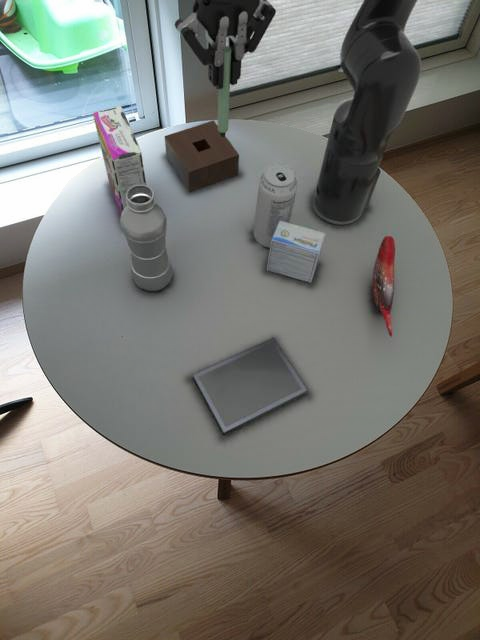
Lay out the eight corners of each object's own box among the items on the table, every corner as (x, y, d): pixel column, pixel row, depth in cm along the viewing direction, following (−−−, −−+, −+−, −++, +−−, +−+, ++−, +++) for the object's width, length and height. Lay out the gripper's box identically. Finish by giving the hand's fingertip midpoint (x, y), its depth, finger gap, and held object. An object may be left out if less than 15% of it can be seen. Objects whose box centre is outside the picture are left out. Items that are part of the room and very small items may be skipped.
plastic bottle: (167, 299, 88) (157, 217, 71) (127, 291, 89) (107, 207, 71) (177, 268, 91) (171, 182, 74) (138, 260, 92) (123, 172, 75)
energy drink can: (276, 219, 98) (287, 155, 85) (293, 243, 95) (306, 181, 82) (247, 230, 96) (253, 166, 83) (262, 254, 94) (271, 193, 81)
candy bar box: (107, 185, 100) (91, 111, 86) (133, 179, 101) (122, 104, 87) (125, 230, 95) (110, 158, 81) (152, 222, 96) (143, 151, 82)
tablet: (272, 341, 85) (273, 337, 84) (306, 393, 81) (308, 390, 80) (192, 378, 81) (192, 374, 80) (223, 435, 77) (223, 432, 76)
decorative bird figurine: (381, 265, 94) (398, 227, 85) (389, 356, 85) (409, 324, 76) (364, 263, 94) (380, 226, 85) (370, 355, 85) (389, 323, 76)
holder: (213, 140, 107) (213, 120, 103) (237, 174, 103) (239, 154, 99) (166, 156, 105) (164, 135, 100) (189, 192, 100) (188, 172, 96)
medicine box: (317, 264, 93) (326, 232, 86) (310, 284, 91) (320, 253, 84) (273, 251, 94) (278, 218, 87) (265, 271, 92) (271, 239, 85)
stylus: (225, 130, 83) (227, 44, 71) (229, 137, 82) (233, 51, 70) (215, 133, 83) (216, 47, 71) (220, 140, 82) (222, 54, 70)
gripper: (186, -25, 56) (190, 114, 71) (299, -51, 60) (281, 86, 75) (157, -60, 59) (167, 80, 74) (265, -82, 63) (254, 55, 78)
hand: (224, 83), depth 75 cm, fingers closed on stylus, 1 cm apart
